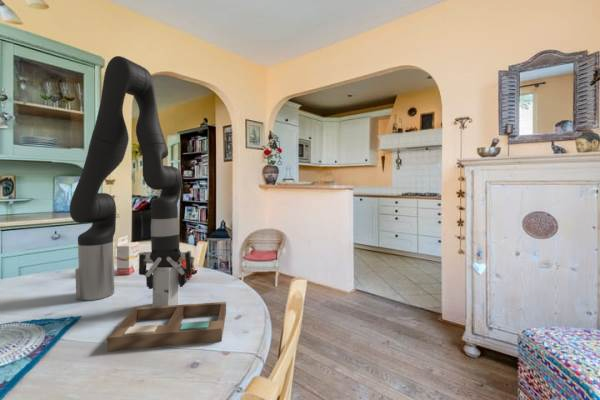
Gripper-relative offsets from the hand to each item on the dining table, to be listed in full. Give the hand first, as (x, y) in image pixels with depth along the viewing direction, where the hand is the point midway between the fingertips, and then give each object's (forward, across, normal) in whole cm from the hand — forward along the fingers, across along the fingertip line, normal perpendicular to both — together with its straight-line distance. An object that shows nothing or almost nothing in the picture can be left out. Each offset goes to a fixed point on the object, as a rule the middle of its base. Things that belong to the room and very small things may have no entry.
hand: (166, 287), depth 84 cm
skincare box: (+6, 0, 0) cm, 6 cm away
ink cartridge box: (+5, -24, +37) cm, 45 cm away
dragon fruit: (+6, 0, +24) cm, 25 cm away
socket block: (+6, +6, -15) cm, 17 cm away
